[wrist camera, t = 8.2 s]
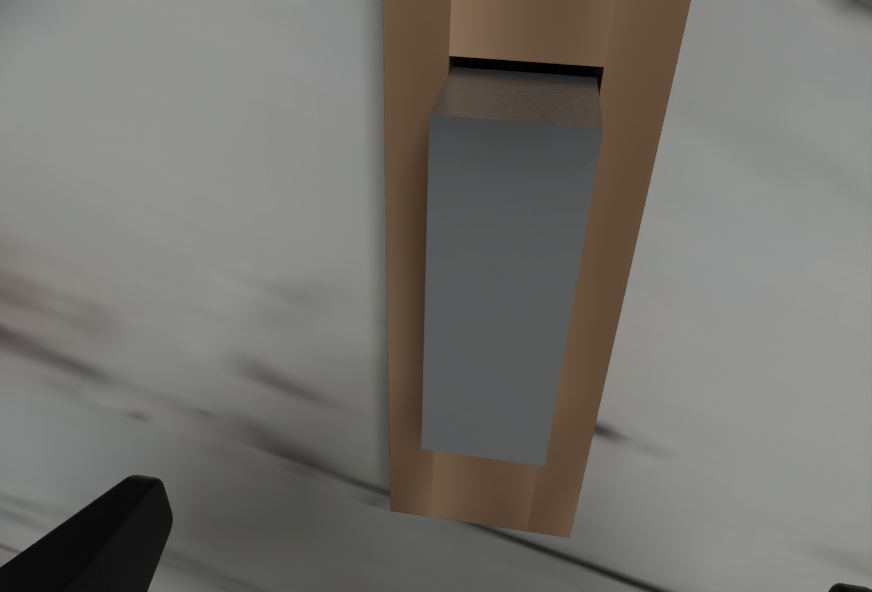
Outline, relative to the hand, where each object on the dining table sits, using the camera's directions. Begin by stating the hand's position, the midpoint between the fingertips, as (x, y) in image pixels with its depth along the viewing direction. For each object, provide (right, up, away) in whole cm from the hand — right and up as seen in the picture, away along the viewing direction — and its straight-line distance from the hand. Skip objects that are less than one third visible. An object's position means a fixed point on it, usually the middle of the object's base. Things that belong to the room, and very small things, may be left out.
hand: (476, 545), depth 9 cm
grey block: (+2, +6, +10) cm, 12 cm away
